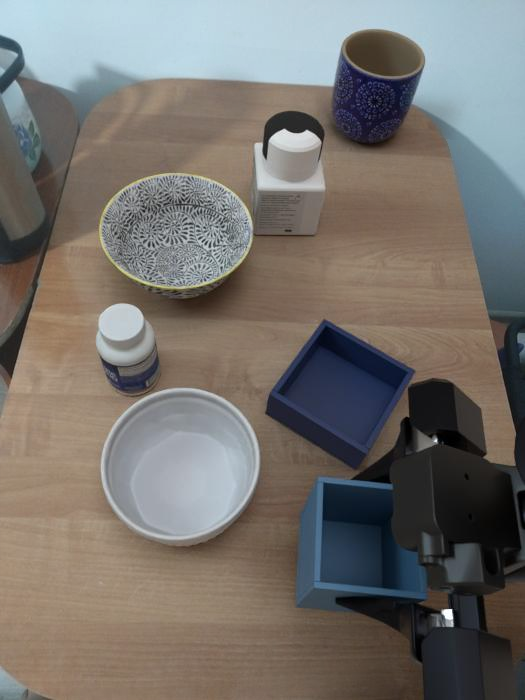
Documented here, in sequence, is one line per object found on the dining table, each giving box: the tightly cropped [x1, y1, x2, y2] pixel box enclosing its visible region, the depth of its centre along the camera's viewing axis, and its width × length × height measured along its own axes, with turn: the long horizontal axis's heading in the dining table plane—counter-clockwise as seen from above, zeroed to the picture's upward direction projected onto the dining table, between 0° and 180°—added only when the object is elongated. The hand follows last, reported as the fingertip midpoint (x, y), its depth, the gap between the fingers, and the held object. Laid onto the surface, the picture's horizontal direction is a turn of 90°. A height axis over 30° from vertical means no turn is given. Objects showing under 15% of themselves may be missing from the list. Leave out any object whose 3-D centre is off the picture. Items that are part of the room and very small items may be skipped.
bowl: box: [98, 172, 255, 300], centre depth 61 cm, size 16×16×8 cm
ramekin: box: [99, 387, 262, 547], centre depth 49 cm, size 13×13×7 cm
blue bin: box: [294, 476, 429, 615], centre depth 40 cm, size 7×7×10 cm
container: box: [250, 110, 327, 236], centre depth 65 cm, size 8×8×13 cm
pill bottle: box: [95, 303, 161, 397], centre depth 53 cm, size 5×5×10 cm
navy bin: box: [265, 318, 416, 471], centre depth 56 cm, size 10×10×4 cm
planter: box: [330, 28, 426, 144], centre depth 76 cm, size 11×11×11 cm
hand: (339, 543), depth 39 cm, fingers closed on blue bin, 7 cm apart
